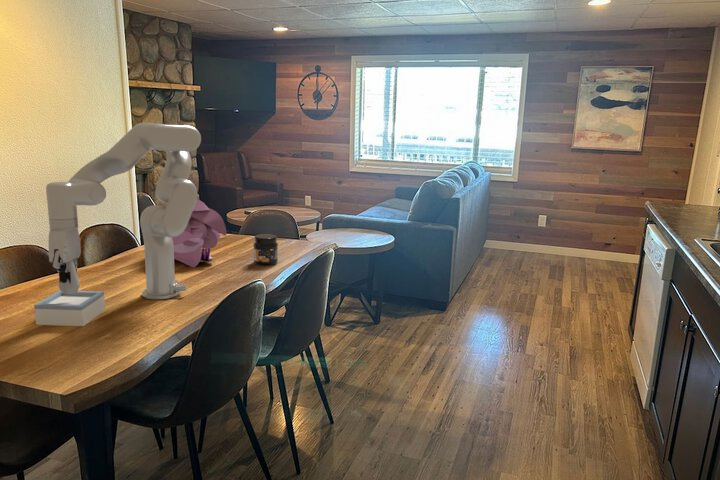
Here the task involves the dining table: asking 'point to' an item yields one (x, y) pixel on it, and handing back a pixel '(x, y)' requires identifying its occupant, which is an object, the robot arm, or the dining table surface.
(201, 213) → the flower arrangement
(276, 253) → the supplement container
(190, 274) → the dining table surface
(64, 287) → the salt shaker
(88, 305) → the stand
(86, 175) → the robot arm
